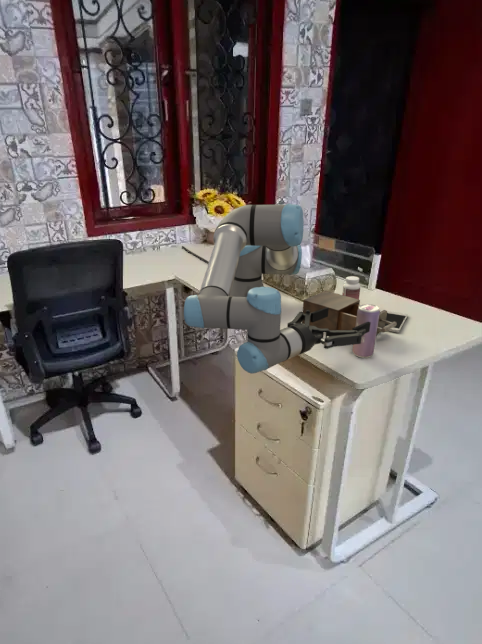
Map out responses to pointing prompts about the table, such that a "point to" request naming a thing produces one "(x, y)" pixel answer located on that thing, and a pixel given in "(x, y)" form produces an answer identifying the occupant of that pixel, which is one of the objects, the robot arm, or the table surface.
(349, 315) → the drawer
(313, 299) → the cabinet
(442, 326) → the table surface
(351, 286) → the pill bottle
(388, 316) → the smartphone
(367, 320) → the beverage can
